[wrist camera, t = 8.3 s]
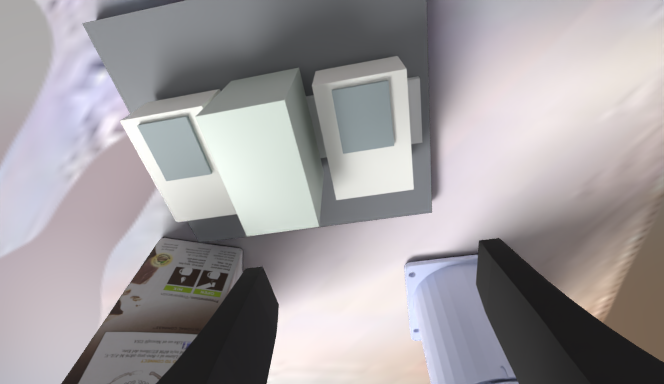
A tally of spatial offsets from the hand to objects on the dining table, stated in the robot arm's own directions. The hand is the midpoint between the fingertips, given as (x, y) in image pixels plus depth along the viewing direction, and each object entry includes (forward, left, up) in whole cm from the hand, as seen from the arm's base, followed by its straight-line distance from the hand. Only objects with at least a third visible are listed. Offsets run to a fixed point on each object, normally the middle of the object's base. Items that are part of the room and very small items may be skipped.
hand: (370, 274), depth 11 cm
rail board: (+2, +4, -10) cm, 11 cm away
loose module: (+2, +4, -9) cm, 10 cm away
